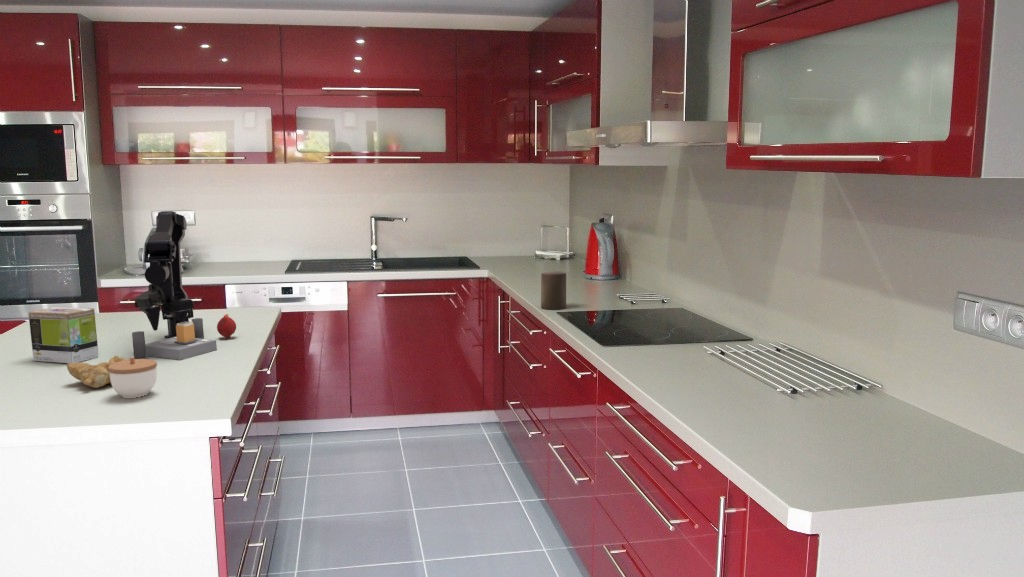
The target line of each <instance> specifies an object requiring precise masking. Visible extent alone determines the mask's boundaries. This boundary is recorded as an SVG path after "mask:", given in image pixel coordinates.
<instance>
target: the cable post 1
mask: <svg viewBox="0 0 1024 577" xmlns="http://www.w3.org/2000/svg"><path fill="white" fill-rule="evenodd" d="M131 338H132V347H133V348H132V349H133V357H134V359H148V356H146V348H145V344H146V340H145V339H146V338H145V331H142V330H141V331H140V330H139V331H133V332H131Z"/></svg>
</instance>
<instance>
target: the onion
mask: <svg viewBox="0 0 1024 577" xmlns="http://www.w3.org/2000/svg"><path fill="white" fill-rule="evenodd" d="M216 330H217V332H218V334H219V335H220V336H221V337H223V338H225V339H229V338H230V337H231V336H233V334H235V332H236V331H237V324H236V322H235V320H234V319H233V318H232V317H230V316H229V314H228V313H226V314H223V317H222V318H220V320H219V321H217V325H216Z"/></svg>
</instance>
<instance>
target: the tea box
mask: <svg viewBox="0 0 1024 577" xmlns="http://www.w3.org/2000/svg"><path fill="white" fill-rule="evenodd" d="M28 320H29V329H30V331H29V332H30V340H31V348H32V358H33V361H35V362H45V363H61V364H69V363H75V362H85V361H88V360H92V359H96V358H99V347H98V334H97V324H96V313H95V309H94V307H93V308H92V307H91V308H90V307H66V306H53V307H49V308H48V307H47V308H43V309H37V310H34V311H29V312H28Z"/></svg>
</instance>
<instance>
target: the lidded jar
mask: <svg viewBox="0 0 1024 577" xmlns="http://www.w3.org/2000/svg"><path fill="white" fill-rule="evenodd" d="M157 364H158V362H157V361H156V360H154V359H149V358H147V359H134V356H130V357H129V359H128V360H126V361H120V362H116V363H113V364H111V365H109V367H108V371H109V376H110V381H111V384H110V385H111V387H112V389H113V390H114V391H115V393H117V395H120V396H122V397H125V398H124V399H137V398H136V397H138V398H142V397H141V396H143V397H145V396H144V395H146V396H148V395H149V394H150V392H151V391H152V389H153V388H154V387H155V384H156V382H157V375H158V372H157V369H158V368H157V366H158V365H157ZM148 393H149V394H148ZM147 394H148V395H147ZM122 397H121V398H122Z"/></svg>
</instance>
